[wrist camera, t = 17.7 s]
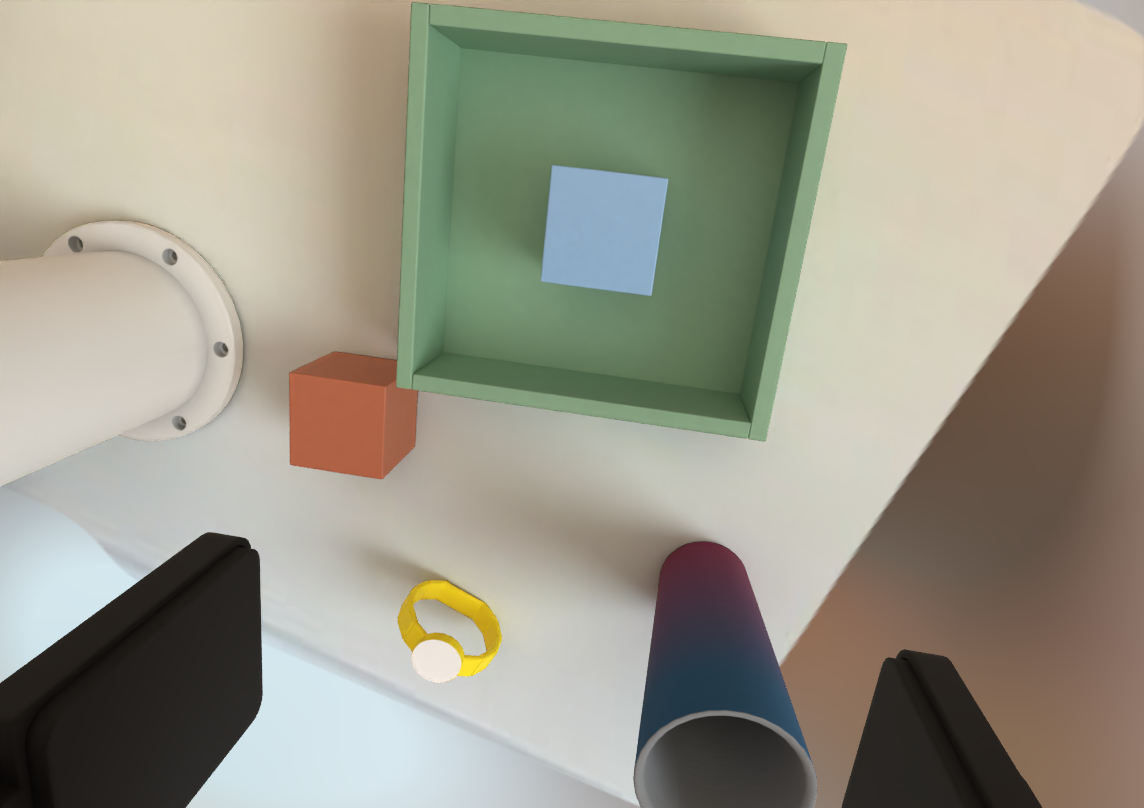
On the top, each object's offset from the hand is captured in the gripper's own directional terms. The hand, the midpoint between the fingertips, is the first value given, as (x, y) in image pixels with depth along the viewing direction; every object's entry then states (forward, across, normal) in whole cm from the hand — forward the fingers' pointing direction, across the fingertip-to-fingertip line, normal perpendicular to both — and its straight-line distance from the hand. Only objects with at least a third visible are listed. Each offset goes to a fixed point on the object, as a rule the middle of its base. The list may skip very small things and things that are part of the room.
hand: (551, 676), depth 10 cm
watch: (+28, +8, +18) cm, 35 cm away
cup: (+28, -6, +14) cm, 32 cm away
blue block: (+28, +2, -5) cm, 28 cm away
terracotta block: (+28, +14, +6) cm, 32 cm away
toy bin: (+28, +2, -5) cm, 29 cm away
